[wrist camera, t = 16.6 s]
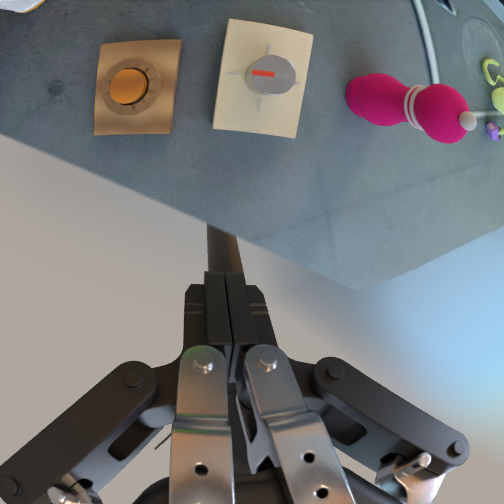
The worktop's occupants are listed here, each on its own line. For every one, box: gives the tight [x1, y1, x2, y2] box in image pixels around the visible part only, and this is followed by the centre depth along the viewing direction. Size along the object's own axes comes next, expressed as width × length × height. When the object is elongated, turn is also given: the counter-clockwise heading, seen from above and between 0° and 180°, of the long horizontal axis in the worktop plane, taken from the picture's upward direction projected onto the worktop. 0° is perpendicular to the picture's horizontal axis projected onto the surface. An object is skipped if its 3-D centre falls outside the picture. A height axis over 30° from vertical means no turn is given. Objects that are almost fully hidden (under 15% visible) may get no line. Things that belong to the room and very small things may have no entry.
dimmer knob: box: [245, 55, 296, 95], centre depth 24 cm, size 4×4×5 cm
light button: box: [109, 69, 147, 104], centre depth 23 cm, size 4×4×2 cm
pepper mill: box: [346, 73, 476, 143], centre depth 23 cm, size 7×7×20 cm
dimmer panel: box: [212, 19, 313, 138], centre depth 28 cm, size 14×10×3 cm
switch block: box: [94, 39, 183, 136], centre depth 25 cm, size 12×10×4 cm
